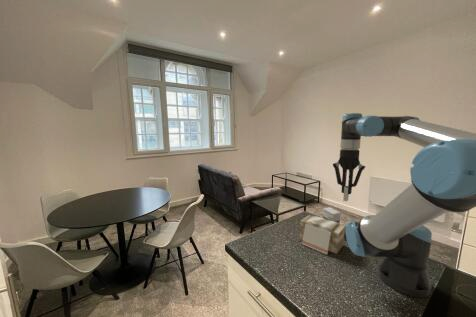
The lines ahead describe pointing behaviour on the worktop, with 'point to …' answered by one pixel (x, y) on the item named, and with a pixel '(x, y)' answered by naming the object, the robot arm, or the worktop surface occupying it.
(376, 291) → the worktop surface
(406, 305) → the worktop surface
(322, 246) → the stub
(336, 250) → the ticket block
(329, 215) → the ink box
